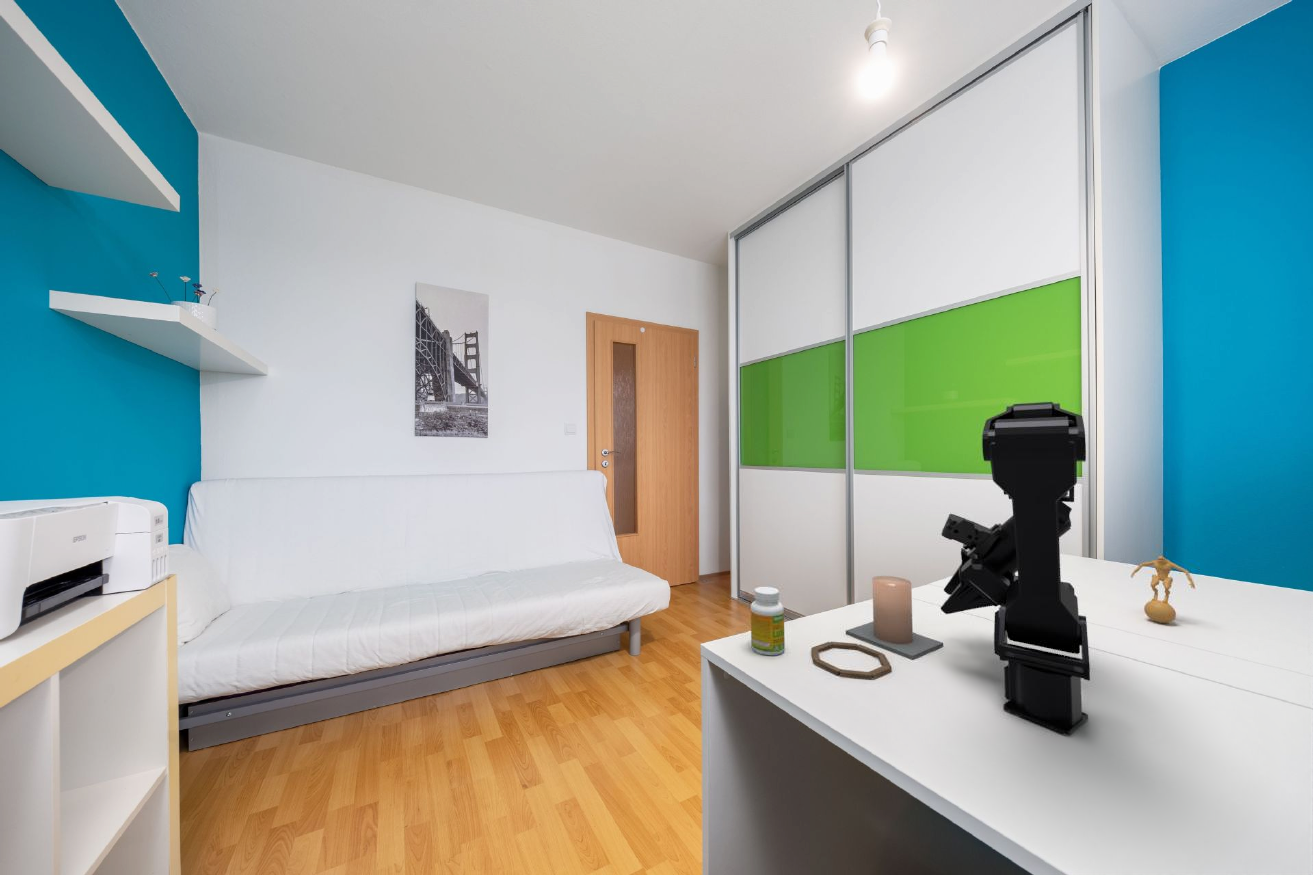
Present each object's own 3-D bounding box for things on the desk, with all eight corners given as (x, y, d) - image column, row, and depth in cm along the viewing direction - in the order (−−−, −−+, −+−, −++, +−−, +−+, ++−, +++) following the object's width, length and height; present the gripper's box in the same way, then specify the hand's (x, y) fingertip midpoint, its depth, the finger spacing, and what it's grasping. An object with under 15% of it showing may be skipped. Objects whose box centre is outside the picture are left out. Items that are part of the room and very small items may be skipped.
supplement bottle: (776, 659, 73) (775, 597, 73) (745, 650, 76) (744, 591, 76) (789, 647, 77) (788, 588, 77) (759, 639, 80) (758, 583, 80)
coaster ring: (904, 665, 70) (904, 661, 70) (858, 685, 64) (858, 681, 64) (842, 640, 79) (841, 637, 79) (797, 656, 73) (797, 652, 73)
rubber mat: (943, 646, 76) (943, 642, 76) (912, 659, 72) (912, 655, 72) (876, 623, 87) (876, 620, 87) (845, 633, 82) (845, 630, 82)
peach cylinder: (920, 638, 78) (918, 582, 78) (899, 647, 75) (898, 588, 75) (886, 626, 83) (885, 573, 83) (866, 634, 80) (864, 579, 80)
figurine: (1125, 617, 88) (1122, 554, 88) (1137, 611, 91) (1135, 550, 91) (1189, 632, 81) (1186, 563, 81) (1201, 625, 84) (1198, 559, 84)
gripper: (973, 489, 79) (907, 550, 85) (973, 507, 64) (893, 579, 70) (1037, 537, 75) (963, 597, 81) (1054, 568, 59) (961, 640, 65)
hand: (944, 601), depth 74 cm, fingers open, 9 cm apart
